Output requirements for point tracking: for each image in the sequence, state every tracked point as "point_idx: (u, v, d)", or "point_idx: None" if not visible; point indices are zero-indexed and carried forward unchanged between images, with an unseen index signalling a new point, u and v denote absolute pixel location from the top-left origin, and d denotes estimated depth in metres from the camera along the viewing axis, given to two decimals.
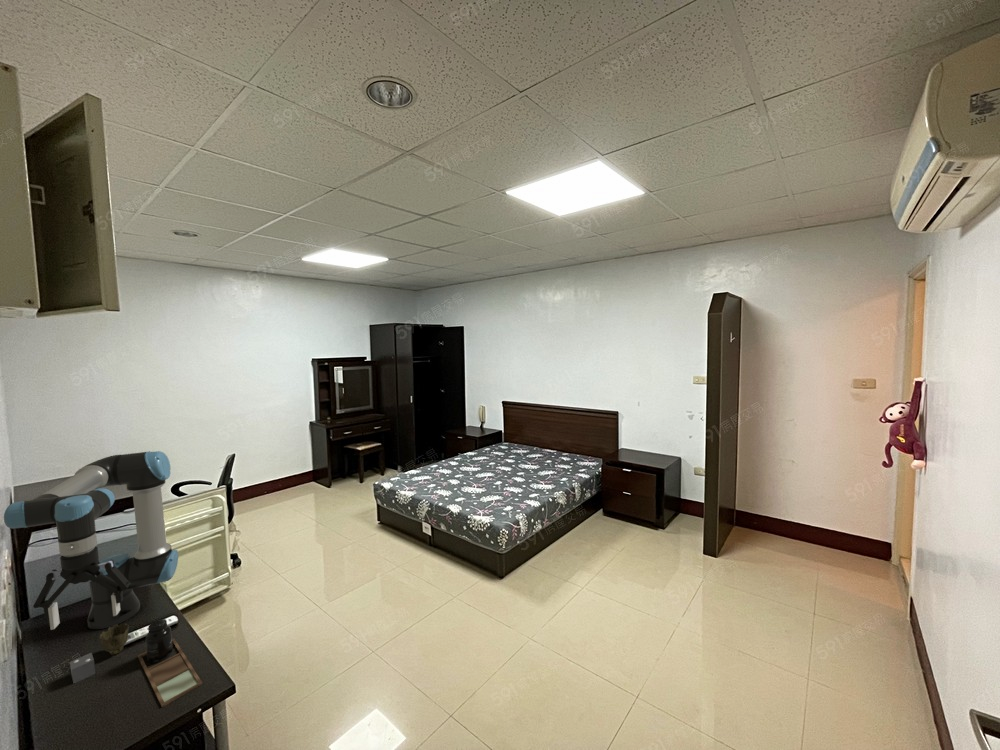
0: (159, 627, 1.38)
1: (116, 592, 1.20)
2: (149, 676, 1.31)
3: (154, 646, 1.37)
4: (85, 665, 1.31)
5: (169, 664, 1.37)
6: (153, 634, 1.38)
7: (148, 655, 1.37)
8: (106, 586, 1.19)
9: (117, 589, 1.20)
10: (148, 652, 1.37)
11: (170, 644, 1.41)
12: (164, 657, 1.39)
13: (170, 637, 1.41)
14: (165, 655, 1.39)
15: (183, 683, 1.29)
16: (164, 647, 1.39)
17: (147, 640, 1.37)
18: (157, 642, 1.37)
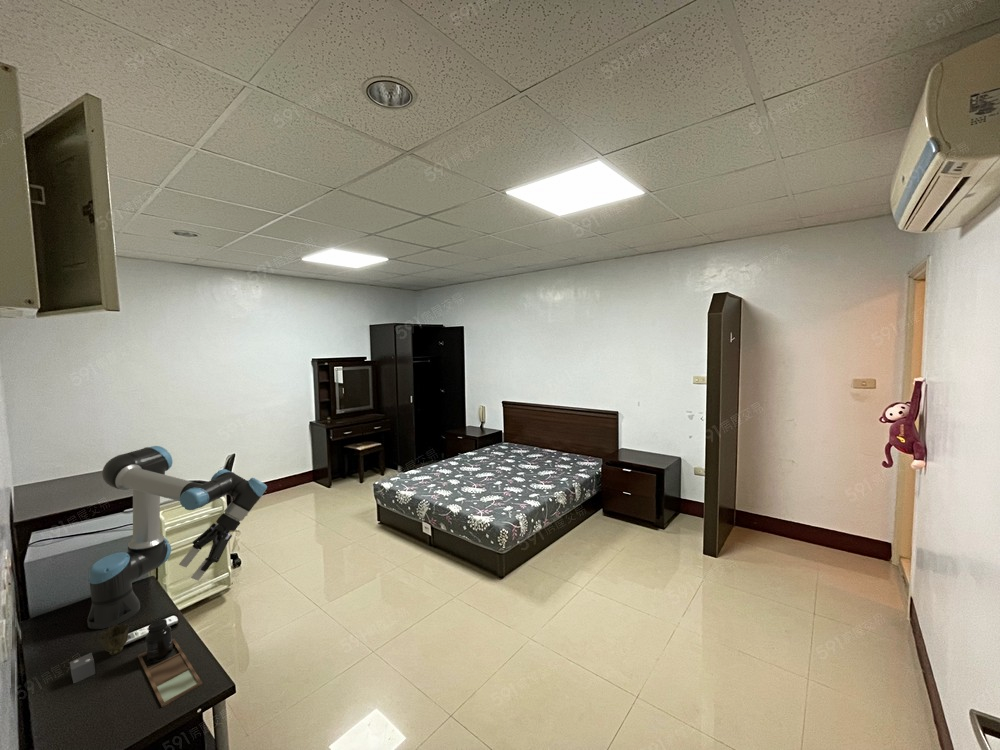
0: (159, 627, 1.38)
1: (200, 547, 1.55)
2: (149, 676, 1.31)
3: (154, 646, 1.37)
4: (85, 665, 1.31)
5: (169, 664, 1.37)
6: (153, 634, 1.38)
7: (148, 655, 1.37)
8: None
9: None
10: (148, 652, 1.37)
11: (170, 644, 1.41)
12: (164, 657, 1.39)
13: (170, 637, 1.41)
14: (165, 655, 1.39)
15: (183, 683, 1.29)
16: (164, 647, 1.39)
17: (147, 640, 1.37)
18: (157, 642, 1.37)
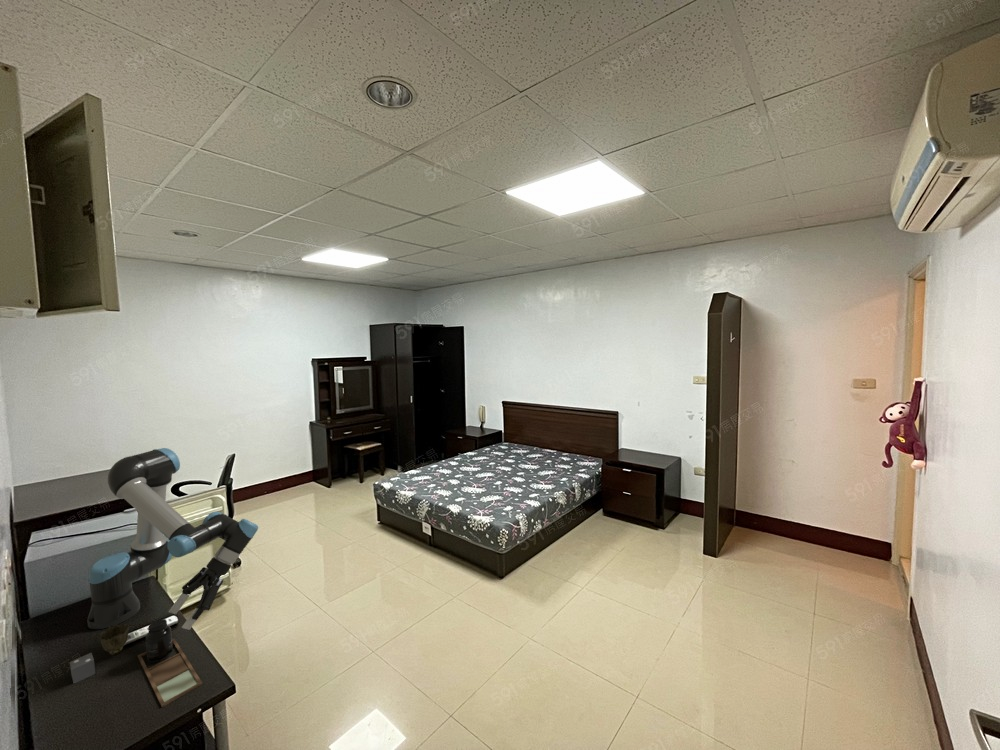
0: (159, 627, 1.38)
1: None
2: (149, 676, 1.31)
3: (154, 646, 1.37)
4: (85, 665, 1.31)
5: (169, 664, 1.37)
6: (153, 634, 1.38)
7: (148, 655, 1.37)
8: None
9: None
10: (148, 652, 1.37)
11: (170, 644, 1.41)
12: (164, 657, 1.39)
13: (170, 637, 1.41)
14: (165, 655, 1.39)
15: (183, 683, 1.29)
16: (164, 647, 1.39)
17: (147, 640, 1.37)
18: (157, 642, 1.37)
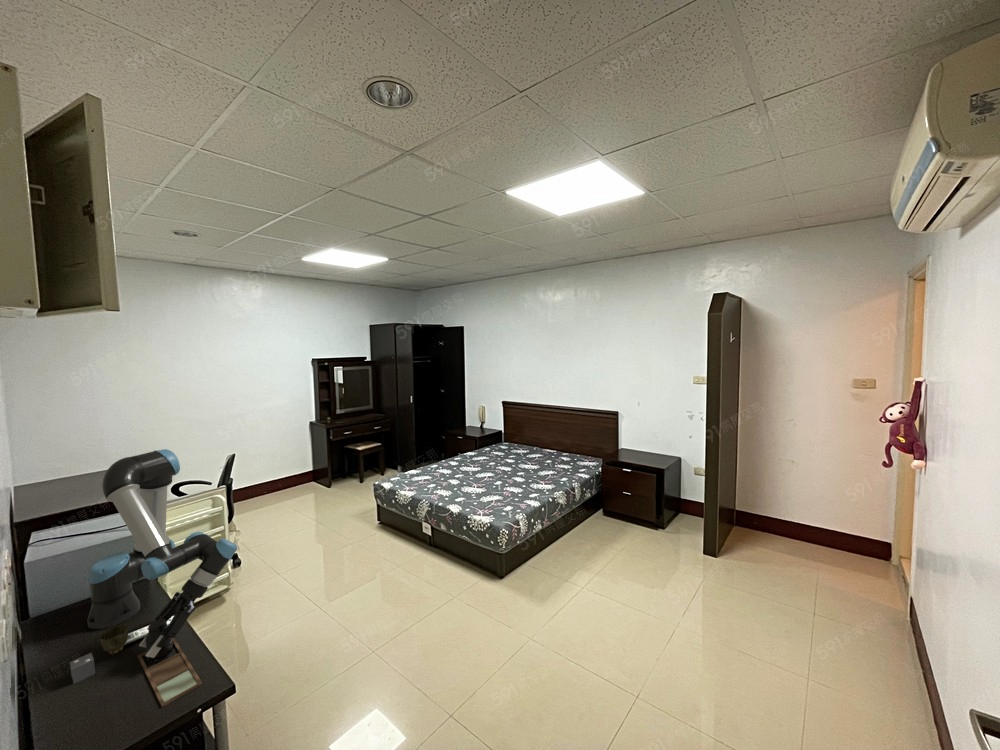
0: (159, 627, 1.38)
1: None
2: (149, 676, 1.31)
3: None
4: (85, 665, 1.31)
5: (169, 664, 1.37)
6: (153, 634, 1.38)
7: None
8: None
9: None
10: None
11: (170, 644, 1.41)
12: (164, 657, 1.39)
13: (170, 637, 1.41)
14: (165, 655, 1.39)
15: (183, 683, 1.29)
16: (164, 647, 1.39)
17: (147, 640, 1.37)
18: None
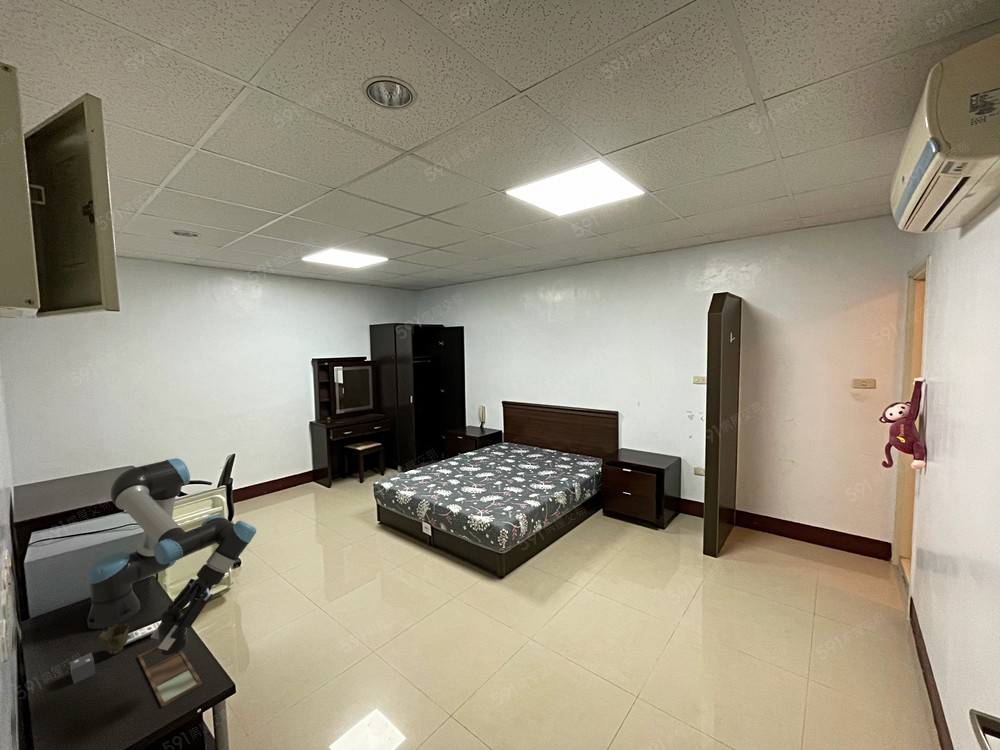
0: (173, 616, 1.25)
1: None
2: (149, 676, 1.31)
3: None
4: (85, 665, 1.31)
5: (169, 664, 1.37)
6: (167, 624, 1.24)
7: None
8: None
9: None
10: None
11: (185, 635, 1.28)
12: (179, 649, 1.26)
13: None
14: (180, 647, 1.26)
15: (183, 683, 1.29)
16: (178, 639, 1.25)
17: (160, 631, 1.24)
18: None
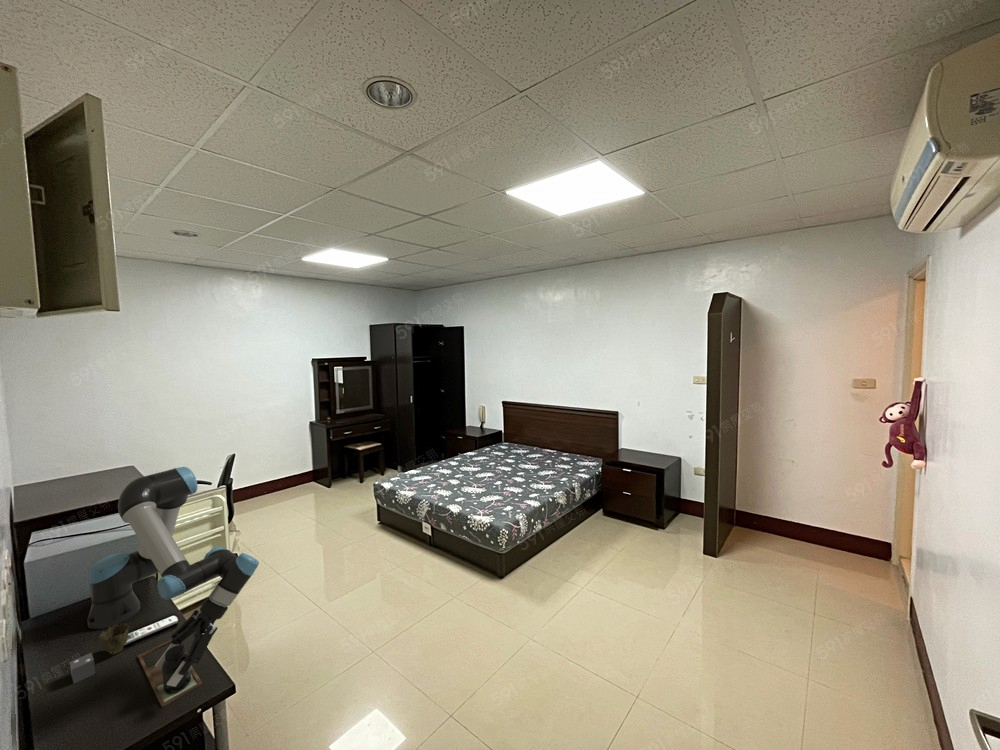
0: (177, 655, 1.26)
1: None
2: (149, 676, 1.31)
3: (171, 676, 1.25)
4: (85, 665, 1.31)
5: None
6: (170, 662, 1.25)
7: (165, 686, 1.25)
8: None
9: None
10: (165, 682, 1.25)
11: (188, 673, 1.29)
12: (182, 687, 1.27)
13: None
14: (183, 685, 1.27)
15: None
16: None
17: (164, 669, 1.25)
18: None
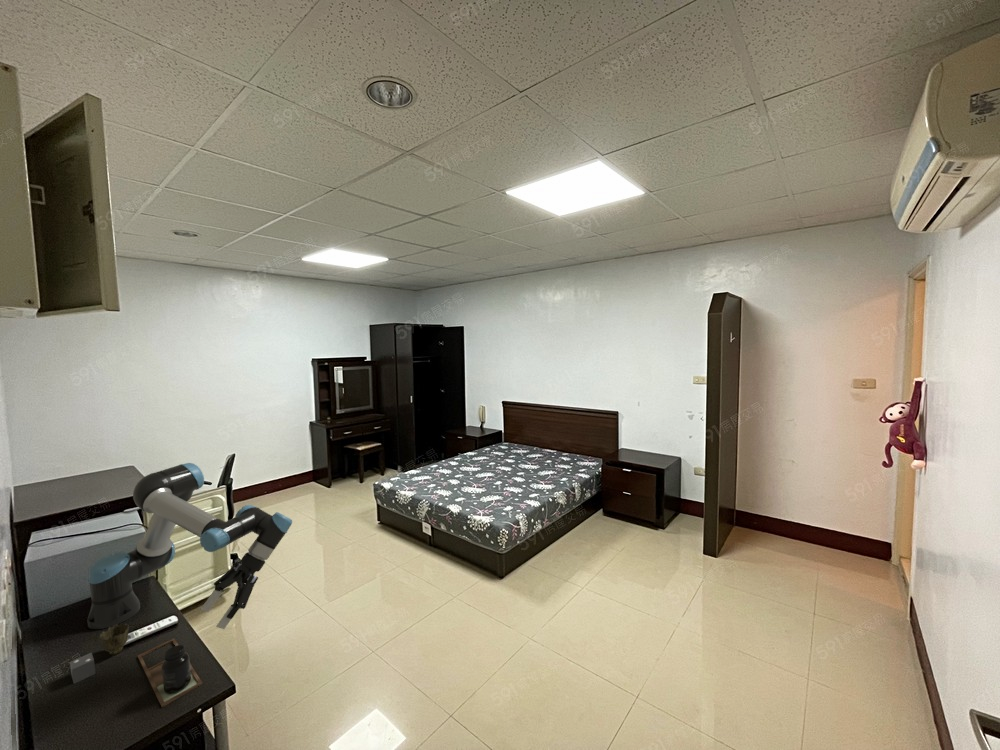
0: (177, 655, 1.26)
1: None
2: (149, 676, 1.31)
3: (171, 676, 1.25)
4: (85, 665, 1.32)
5: None
6: (170, 662, 1.25)
7: (164, 686, 1.25)
8: None
9: None
10: (165, 682, 1.25)
11: (188, 673, 1.29)
12: (182, 687, 1.27)
13: (188, 665, 1.29)
14: (183, 685, 1.27)
15: None
16: (181, 677, 1.26)
17: (164, 669, 1.25)
18: (175, 671, 1.25)
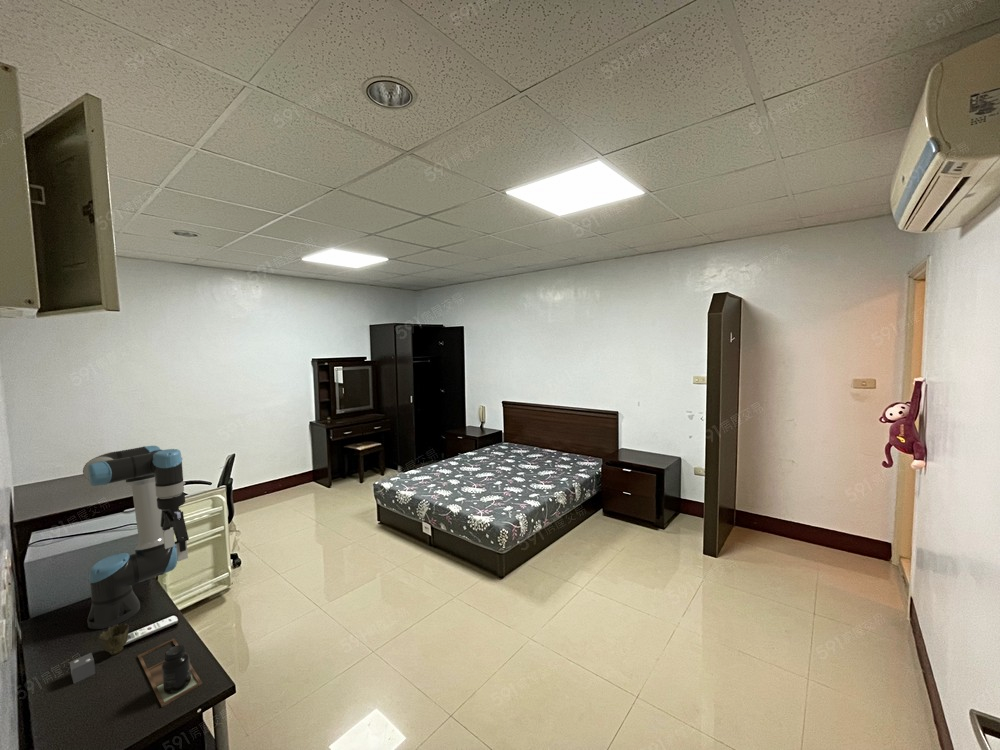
0: (176, 655, 1.26)
1: (172, 525, 1.47)
2: (149, 676, 1.31)
3: (171, 676, 1.25)
4: (85, 665, 1.32)
5: None
6: (170, 662, 1.25)
7: (164, 686, 1.25)
8: None
9: None
10: (165, 682, 1.25)
11: (188, 673, 1.29)
12: (182, 687, 1.27)
13: (188, 665, 1.29)
14: (183, 685, 1.27)
15: None
16: (181, 677, 1.26)
17: (163, 669, 1.25)
18: (175, 671, 1.25)
